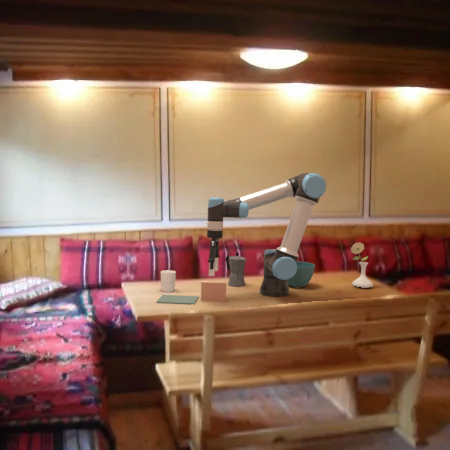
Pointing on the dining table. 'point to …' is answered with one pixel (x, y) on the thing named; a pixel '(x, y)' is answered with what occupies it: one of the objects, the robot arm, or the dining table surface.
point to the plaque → (213, 291)
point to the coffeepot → (236, 270)
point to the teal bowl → (302, 274)
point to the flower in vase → (362, 280)
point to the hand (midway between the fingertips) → (213, 273)
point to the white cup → (168, 280)
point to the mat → (177, 299)
